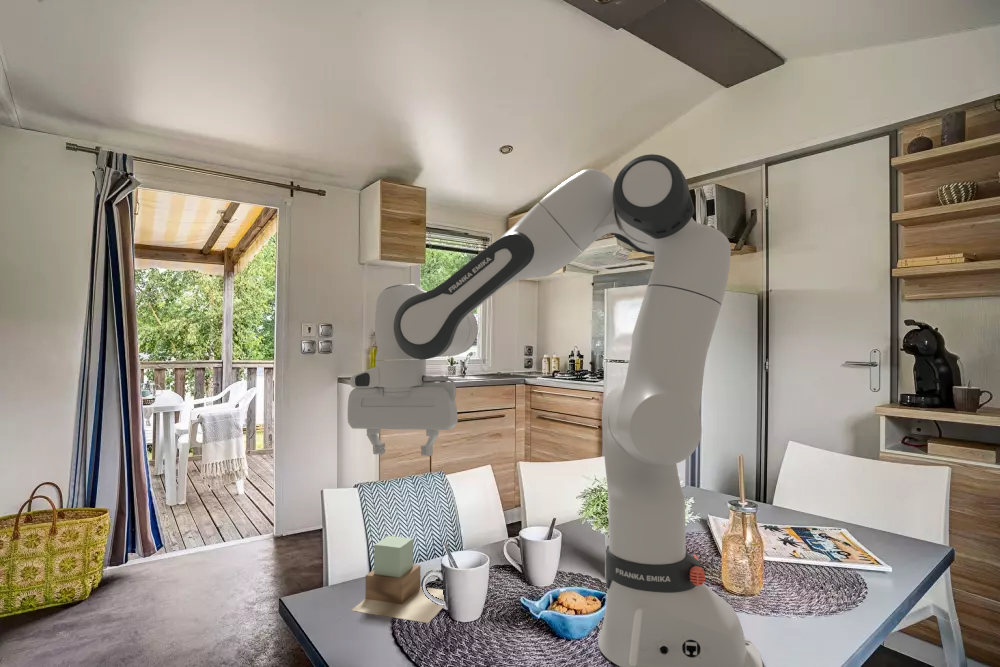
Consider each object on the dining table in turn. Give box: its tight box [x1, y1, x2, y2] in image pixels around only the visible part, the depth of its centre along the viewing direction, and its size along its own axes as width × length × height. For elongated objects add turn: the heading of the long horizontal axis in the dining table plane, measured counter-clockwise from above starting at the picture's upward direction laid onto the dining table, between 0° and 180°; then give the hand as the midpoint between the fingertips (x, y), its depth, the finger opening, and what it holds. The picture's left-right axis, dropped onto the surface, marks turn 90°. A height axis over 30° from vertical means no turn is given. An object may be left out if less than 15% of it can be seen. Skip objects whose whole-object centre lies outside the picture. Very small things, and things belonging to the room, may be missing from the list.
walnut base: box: [364, 563, 421, 604], centre depth 98 cm, size 7×7×4 cm
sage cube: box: [373, 535, 414, 577], centre depth 98 cm, size 5×5×5 cm
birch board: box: [350, 586, 445, 624], centre depth 94 cm, size 14×12×1 cm
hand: (402, 454), depth 98 cm, fingers open, 8 cm apart
